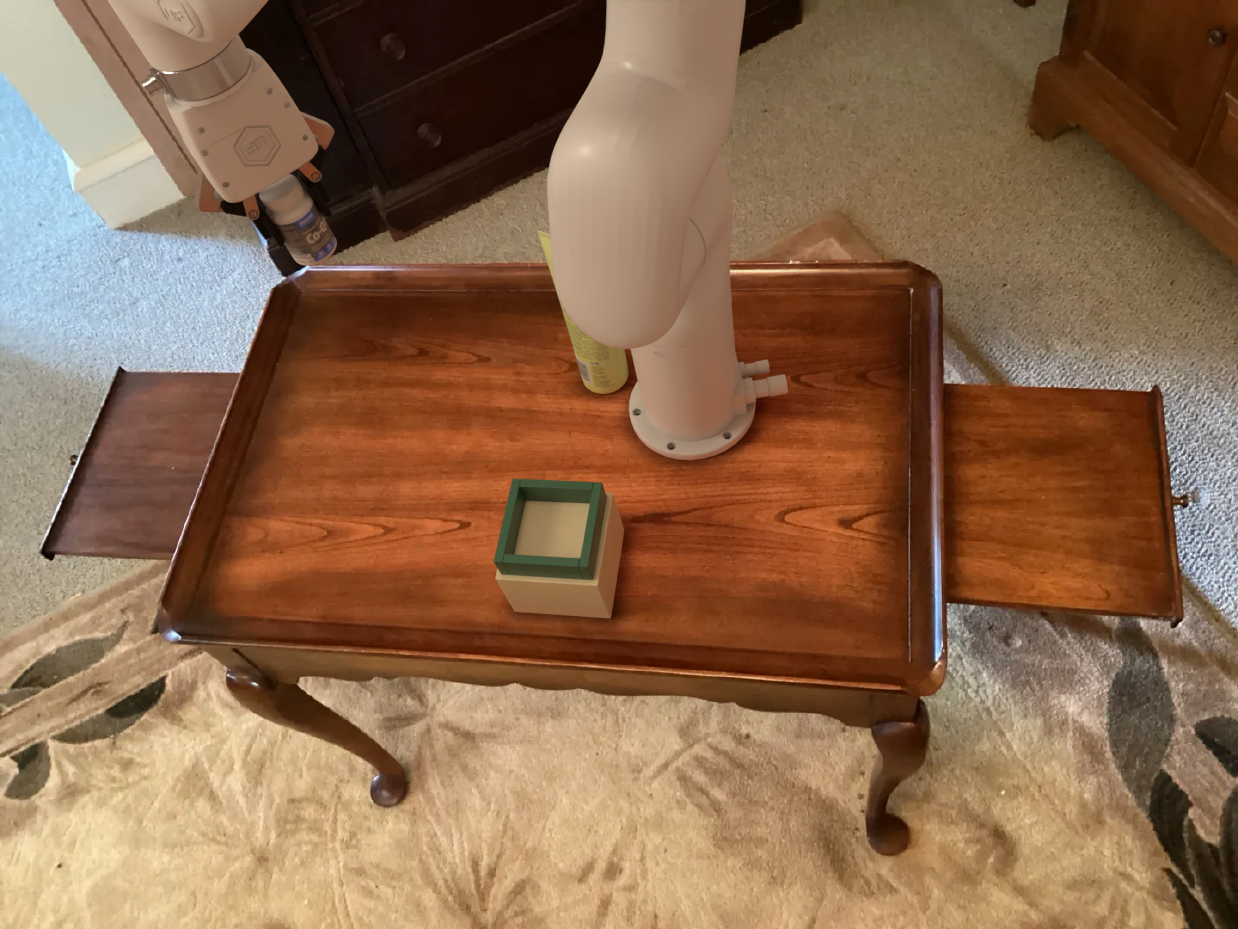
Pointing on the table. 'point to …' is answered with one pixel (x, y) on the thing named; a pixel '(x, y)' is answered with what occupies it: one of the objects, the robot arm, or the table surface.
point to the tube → (591, 348)
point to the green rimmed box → (559, 548)
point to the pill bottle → (298, 221)
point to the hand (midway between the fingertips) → (299, 222)
